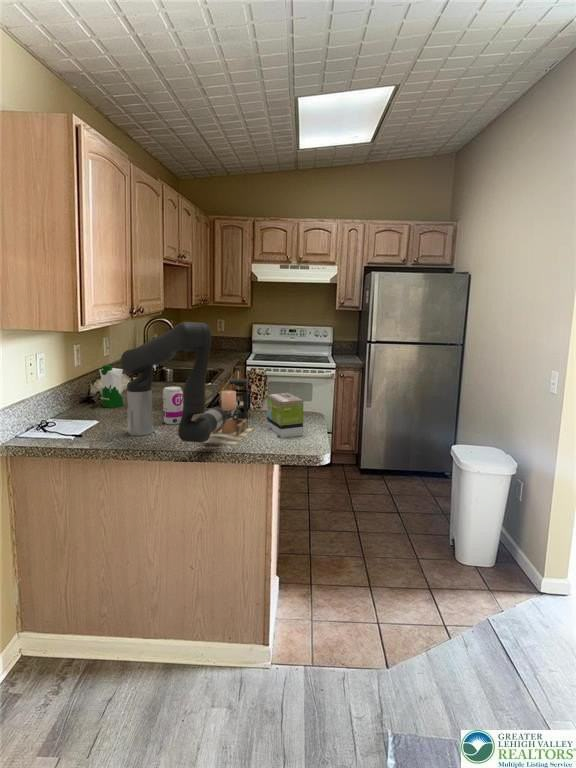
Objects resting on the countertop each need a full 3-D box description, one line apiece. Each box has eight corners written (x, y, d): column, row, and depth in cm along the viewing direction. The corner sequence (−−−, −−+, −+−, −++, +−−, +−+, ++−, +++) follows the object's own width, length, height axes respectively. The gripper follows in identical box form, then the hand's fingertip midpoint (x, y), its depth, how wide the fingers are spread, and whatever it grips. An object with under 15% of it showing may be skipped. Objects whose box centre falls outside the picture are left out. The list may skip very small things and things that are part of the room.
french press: (236, 421, 232) (236, 368, 228) (222, 417, 239) (221, 366, 234) (256, 416, 241) (256, 366, 236) (242, 413, 247) (242, 363, 243)
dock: (234, 447, 194) (234, 435, 193) (193, 444, 198) (193, 432, 197) (254, 430, 218) (254, 419, 217) (217, 427, 222) (217, 416, 221)
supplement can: (187, 422, 229) (186, 388, 227) (171, 425, 223) (170, 390, 221) (176, 419, 235) (175, 385, 232) (159, 422, 229) (158, 388, 226)
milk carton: (99, 406, 257) (97, 365, 254) (114, 403, 265) (112, 363, 261) (111, 409, 253) (109, 367, 249) (126, 405, 260) (124, 364, 257)
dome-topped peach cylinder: (233, 433, 209) (233, 393, 206) (219, 432, 210) (219, 392, 207) (240, 428, 217) (240, 389, 214) (227, 427, 218) (226, 388, 215)
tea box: (266, 429, 220) (266, 393, 218) (288, 426, 224) (288, 392, 222) (280, 438, 207) (280, 401, 204) (303, 436, 211) (304, 399, 208)
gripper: (231, 410, 191) (245, 401, 207) (193, 408, 195) (210, 399, 210) (231, 431, 193) (245, 420, 208) (194, 428, 196) (210, 418, 211)
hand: (227, 410), depth 209 cm, fingers open, 8 cm apart
